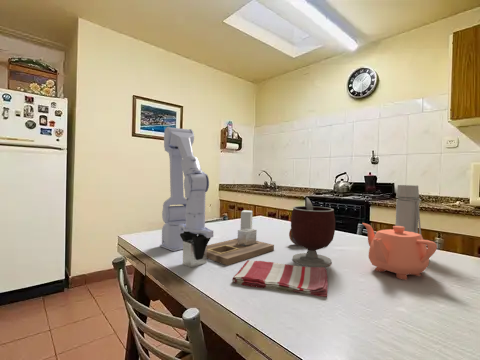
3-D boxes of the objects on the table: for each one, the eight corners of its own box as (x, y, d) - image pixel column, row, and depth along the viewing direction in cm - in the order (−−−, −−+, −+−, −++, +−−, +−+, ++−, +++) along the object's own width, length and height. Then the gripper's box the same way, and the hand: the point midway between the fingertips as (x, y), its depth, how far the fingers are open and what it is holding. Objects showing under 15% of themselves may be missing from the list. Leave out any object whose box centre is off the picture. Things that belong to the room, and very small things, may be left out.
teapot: (372, 278, 72) (374, 229, 72) (360, 260, 88) (361, 219, 88) (441, 286, 68) (443, 233, 68) (415, 265, 84) (416, 223, 84)
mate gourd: (340, 268, 80) (342, 202, 79) (294, 267, 80) (296, 201, 79) (324, 253, 95) (326, 197, 95) (286, 252, 95) (287, 196, 95)
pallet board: (194, 253, 91) (194, 247, 91) (242, 242, 109) (242, 236, 109) (227, 265, 80) (227, 258, 80) (273, 250, 98) (274, 244, 98)
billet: (182, 264, 80) (183, 241, 80) (198, 259, 85) (198, 238, 85) (190, 267, 78) (191, 243, 78) (206, 262, 82) (206, 240, 82)
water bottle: (389, 250, 101) (391, 184, 101) (404, 249, 103) (406, 184, 103) (411, 257, 92) (413, 185, 92) (427, 255, 95) (430, 186, 94)
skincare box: (249, 240, 112) (250, 212, 111) (240, 239, 112) (240, 211, 112) (252, 237, 118) (252, 210, 117) (242, 236, 118) (243, 209, 118)
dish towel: (328, 300, 60) (328, 288, 60) (230, 286, 67) (230, 275, 67) (326, 274, 76) (326, 265, 76) (247, 264, 83) (247, 256, 83)
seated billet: (237, 249, 98) (237, 230, 98) (248, 246, 102) (248, 228, 102) (245, 251, 95) (245, 232, 95) (256, 248, 100) (256, 229, 99)
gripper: (171, 211, 83) (170, 254, 83) (200, 217, 73) (199, 266, 73) (189, 209, 88) (188, 250, 88) (219, 214, 78) (218, 260, 78)
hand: (194, 257), depth 81 cm, fingers closed on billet, 4 cm apart
